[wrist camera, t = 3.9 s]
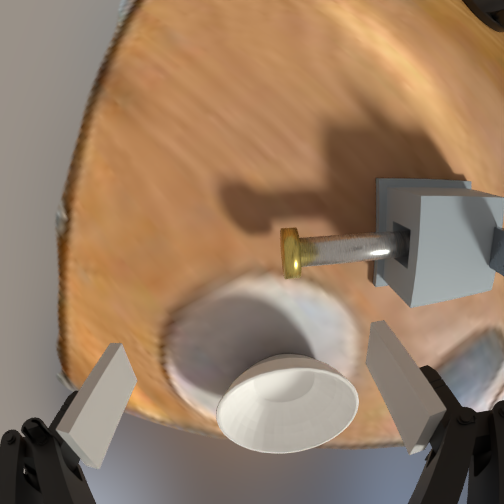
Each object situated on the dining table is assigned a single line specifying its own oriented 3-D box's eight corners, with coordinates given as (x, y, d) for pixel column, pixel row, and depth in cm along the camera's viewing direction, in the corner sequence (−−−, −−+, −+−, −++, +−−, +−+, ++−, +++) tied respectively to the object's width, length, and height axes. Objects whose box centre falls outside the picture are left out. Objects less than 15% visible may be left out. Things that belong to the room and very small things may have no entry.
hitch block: (372, 284, 36) (401, 317, 27) (375, 178, 32) (412, 185, 23) (459, 271, 35) (494, 295, 27) (467, 180, 31) (508, 189, 23)
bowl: (288, 303, 37) (296, 339, 29) (366, 372, 41) (382, 406, 33) (195, 379, 41) (187, 417, 33) (279, 429, 45) (282, 464, 37)
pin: (281, 268, 33) (286, 287, 28) (279, 223, 31) (284, 235, 26) (415, 255, 32) (436, 270, 27) (418, 215, 31) (441, 225, 26)
